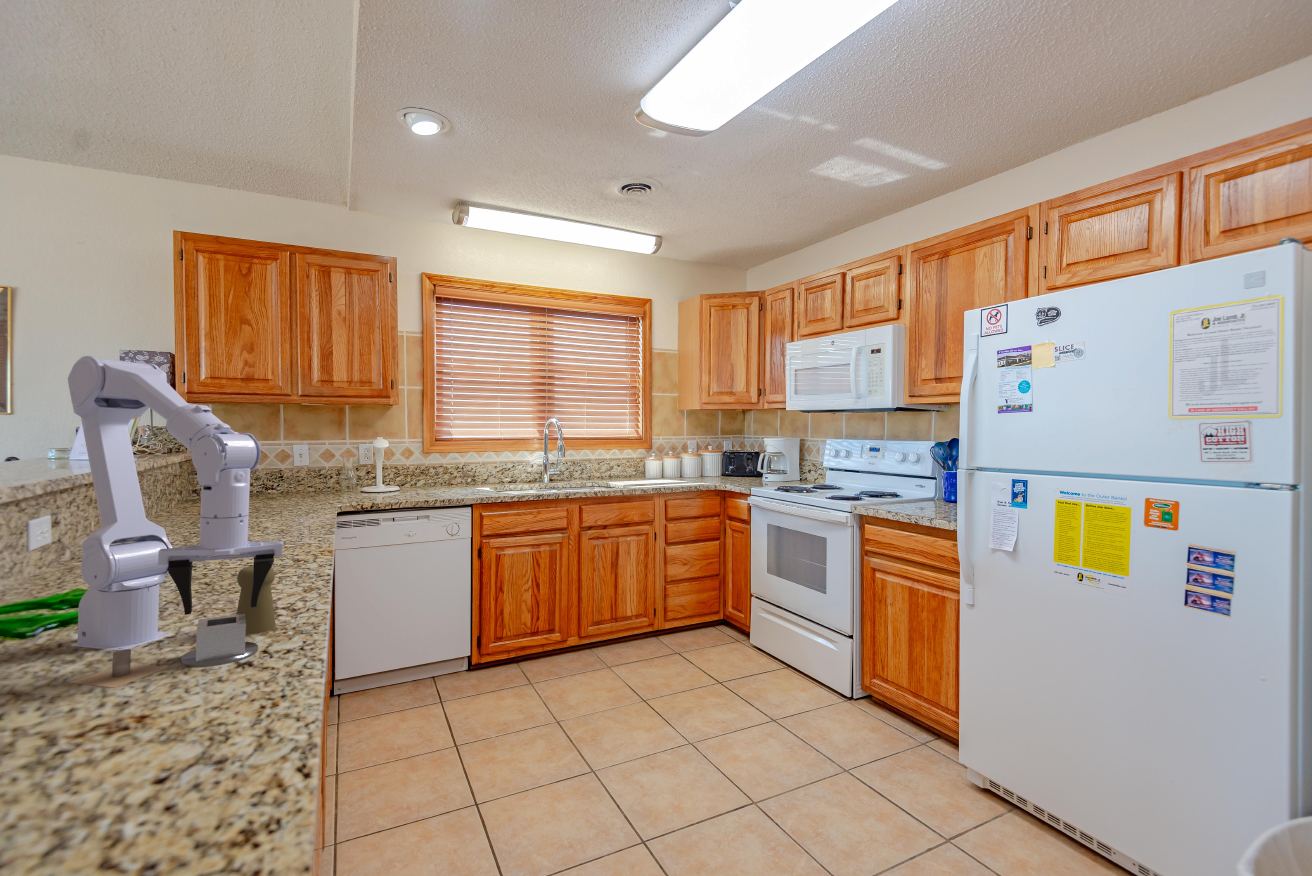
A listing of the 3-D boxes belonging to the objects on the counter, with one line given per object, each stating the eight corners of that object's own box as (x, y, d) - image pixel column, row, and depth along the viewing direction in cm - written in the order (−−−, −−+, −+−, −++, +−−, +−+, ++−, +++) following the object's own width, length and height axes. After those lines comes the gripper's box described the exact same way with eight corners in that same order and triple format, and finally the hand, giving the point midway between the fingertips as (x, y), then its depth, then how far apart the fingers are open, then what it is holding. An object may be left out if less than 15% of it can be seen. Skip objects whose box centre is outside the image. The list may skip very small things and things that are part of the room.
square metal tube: (195, 662, 82) (196, 629, 82) (197, 650, 87) (198, 619, 87) (244, 654, 85) (245, 623, 85) (244, 643, 90) (245, 613, 90)
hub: (164, 667, 83) (165, 638, 83) (222, 645, 92) (222, 619, 92) (219, 673, 81) (220, 644, 81) (272, 650, 90) (273, 624, 90)
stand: (69, 686, 76) (70, 658, 76) (127, 666, 83) (127, 640, 83) (114, 692, 74) (115, 663, 74) (169, 671, 81) (169, 645, 81)
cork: (254, 640, 94) (256, 571, 95) (222, 636, 96) (224, 568, 96) (285, 628, 100) (287, 563, 100) (255, 625, 102) (256, 561, 102)
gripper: (156, 522, 79) (153, 624, 79) (285, 516, 87) (281, 609, 87) (162, 515, 85) (159, 610, 85) (282, 511, 93) (279, 597, 93)
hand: (221, 609), depth 86 cm, fingers open, 7 cm apart
